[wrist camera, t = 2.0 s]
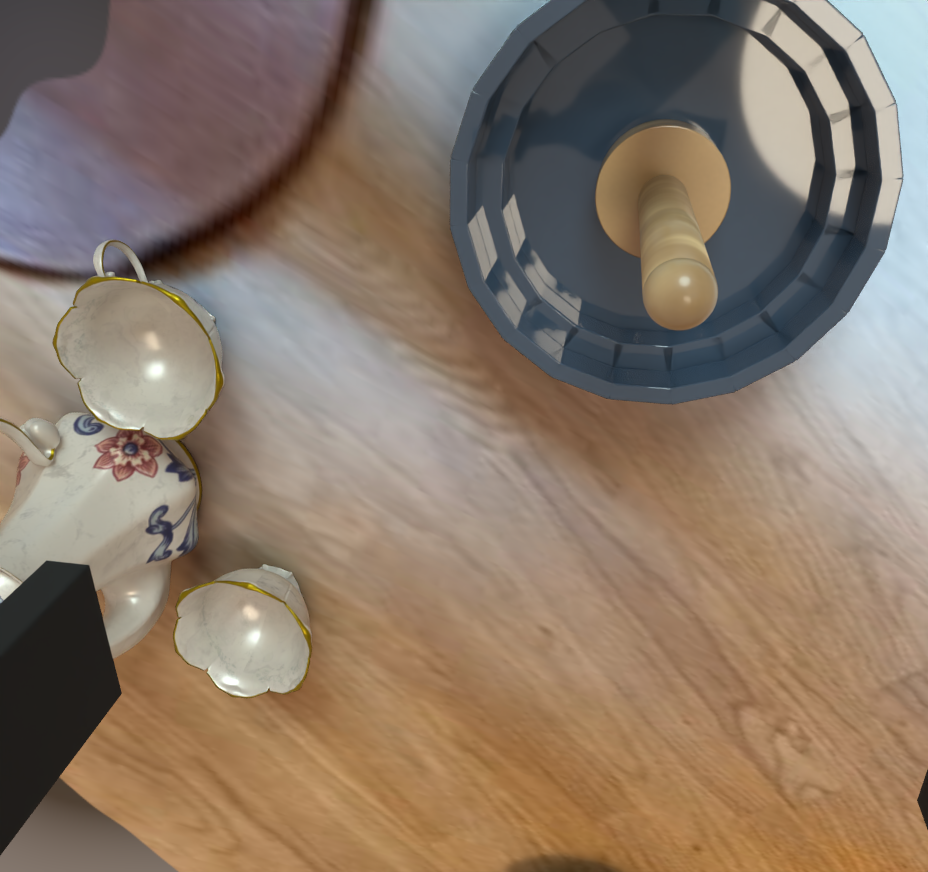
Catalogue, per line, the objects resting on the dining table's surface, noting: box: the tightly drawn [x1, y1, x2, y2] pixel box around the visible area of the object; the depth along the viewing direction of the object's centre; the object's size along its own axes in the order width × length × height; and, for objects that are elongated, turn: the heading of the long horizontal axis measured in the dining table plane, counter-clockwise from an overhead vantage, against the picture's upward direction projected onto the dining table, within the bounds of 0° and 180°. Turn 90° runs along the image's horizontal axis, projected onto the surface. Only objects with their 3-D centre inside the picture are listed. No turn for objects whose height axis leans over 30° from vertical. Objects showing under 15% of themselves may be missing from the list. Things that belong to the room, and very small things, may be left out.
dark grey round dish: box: [450, 0, 903, 404], centre depth 36 cm, size 18×18×5 cm
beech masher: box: [595, 119, 731, 331], centre depth 30 cm, size 6×6×18 cm
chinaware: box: [0, 240, 312, 698], centre depth 43 cm, size 28×17×17 cm, turn 16°
